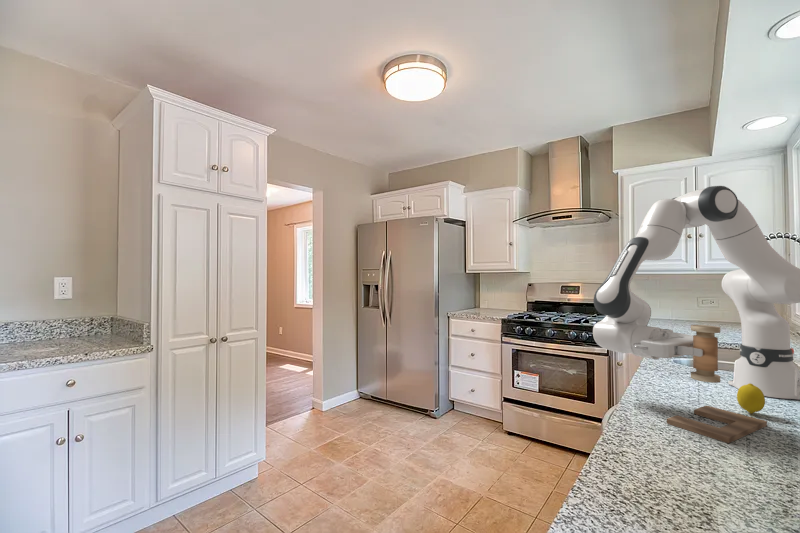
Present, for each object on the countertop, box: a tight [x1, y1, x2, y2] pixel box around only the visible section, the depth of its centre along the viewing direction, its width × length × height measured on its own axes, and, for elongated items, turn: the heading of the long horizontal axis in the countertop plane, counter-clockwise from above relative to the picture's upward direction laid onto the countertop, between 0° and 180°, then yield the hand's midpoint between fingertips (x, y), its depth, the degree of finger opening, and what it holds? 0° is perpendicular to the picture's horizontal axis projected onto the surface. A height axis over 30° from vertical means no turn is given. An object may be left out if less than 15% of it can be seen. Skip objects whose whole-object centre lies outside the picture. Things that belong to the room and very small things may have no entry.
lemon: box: [736, 383, 766, 415], centre depth 102 cm, size 6×6×8 cm
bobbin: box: [690, 324, 721, 384], centre depth 96 cm, size 6×6×13 cm
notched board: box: [666, 405, 768, 444], centre depth 95 cm, size 20×12×1 cm, turn 119°
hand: (709, 351), depth 95 cm, fingers closed on bobbin, 5 cm apart
